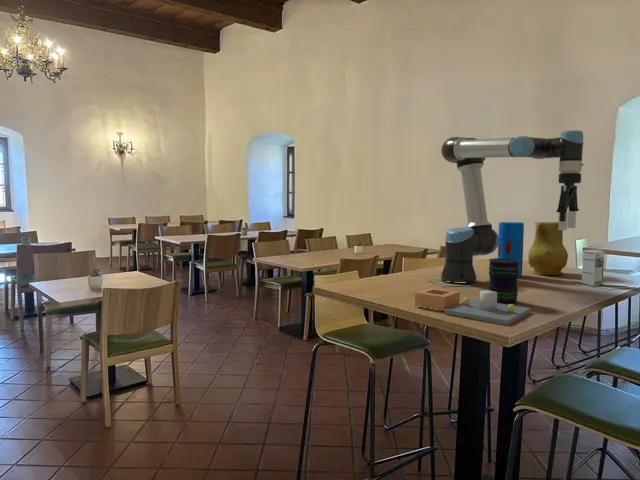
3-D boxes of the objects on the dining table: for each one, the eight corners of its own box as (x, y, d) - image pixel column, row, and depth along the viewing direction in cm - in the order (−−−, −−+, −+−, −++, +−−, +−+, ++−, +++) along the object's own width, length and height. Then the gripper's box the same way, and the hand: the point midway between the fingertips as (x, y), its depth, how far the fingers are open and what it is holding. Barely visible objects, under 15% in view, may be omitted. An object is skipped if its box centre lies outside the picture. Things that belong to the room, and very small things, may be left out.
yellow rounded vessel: (520, 271, 235) (522, 221, 232) (555, 270, 237) (557, 220, 234) (539, 277, 218) (542, 223, 215) (577, 276, 220) (580, 222, 217)
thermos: (519, 278, 215) (521, 223, 213) (495, 276, 221) (496, 222, 218) (523, 275, 224) (525, 222, 222) (499, 273, 230) (501, 221, 228)
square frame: (414, 306, 163) (415, 292, 162) (430, 301, 171) (431, 287, 170) (444, 312, 155) (444, 297, 155) (459, 306, 164) (459, 291, 163)
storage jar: (523, 303, 167) (525, 261, 165) (499, 305, 164) (501, 262, 162) (505, 297, 176) (506, 257, 175) (482, 299, 173) (483, 259, 172)
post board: (444, 314, 153) (445, 292, 152) (471, 303, 167) (472, 283, 167) (507, 325, 139) (508, 302, 139) (530, 312, 154) (531, 291, 153)
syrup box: (593, 285, 198) (595, 251, 196) (581, 283, 203) (582, 249, 202) (603, 284, 200) (604, 250, 198) (590, 282, 205) (591, 249, 204)
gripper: (573, 171, 166) (569, 231, 168) (588, 173, 185) (585, 227, 187) (550, 172, 171) (547, 230, 173) (567, 173, 190) (564, 226, 192)
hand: (566, 229), depth 180 cm, fingers open, 13 cm apart
